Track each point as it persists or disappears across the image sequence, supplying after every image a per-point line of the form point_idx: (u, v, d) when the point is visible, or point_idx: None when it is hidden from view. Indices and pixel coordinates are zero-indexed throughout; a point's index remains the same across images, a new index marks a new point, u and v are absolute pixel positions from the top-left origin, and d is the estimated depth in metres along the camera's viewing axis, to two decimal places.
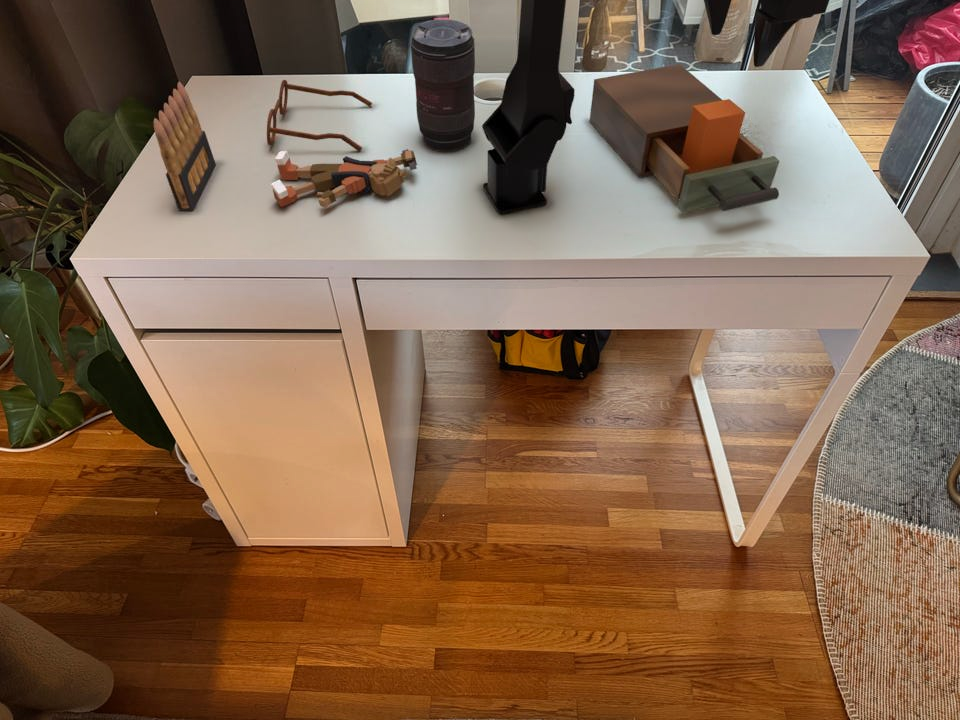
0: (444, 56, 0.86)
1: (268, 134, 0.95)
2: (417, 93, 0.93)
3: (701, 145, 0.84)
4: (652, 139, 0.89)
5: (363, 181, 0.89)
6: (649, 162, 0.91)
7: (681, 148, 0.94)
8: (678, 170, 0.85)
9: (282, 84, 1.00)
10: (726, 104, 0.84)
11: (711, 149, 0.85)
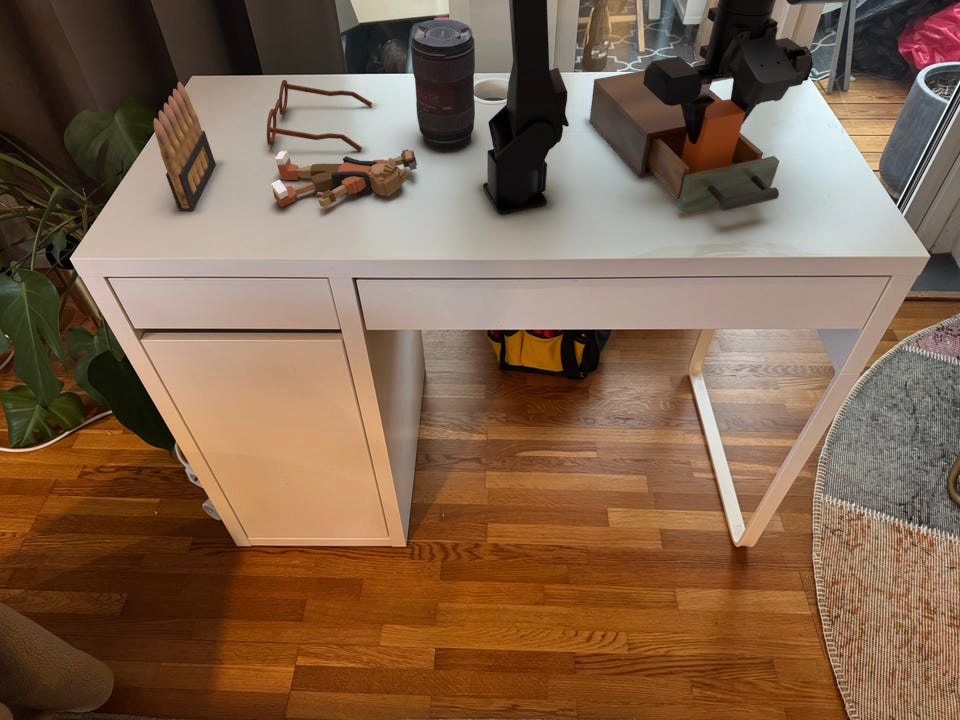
0: (444, 56, 0.86)
1: (268, 134, 0.95)
2: (417, 93, 0.93)
3: (701, 145, 0.84)
4: (652, 139, 0.89)
5: (363, 181, 0.89)
6: (649, 162, 0.91)
7: (681, 148, 0.94)
8: (678, 170, 0.85)
9: (282, 84, 1.00)
10: (726, 104, 0.84)
11: (711, 149, 0.85)
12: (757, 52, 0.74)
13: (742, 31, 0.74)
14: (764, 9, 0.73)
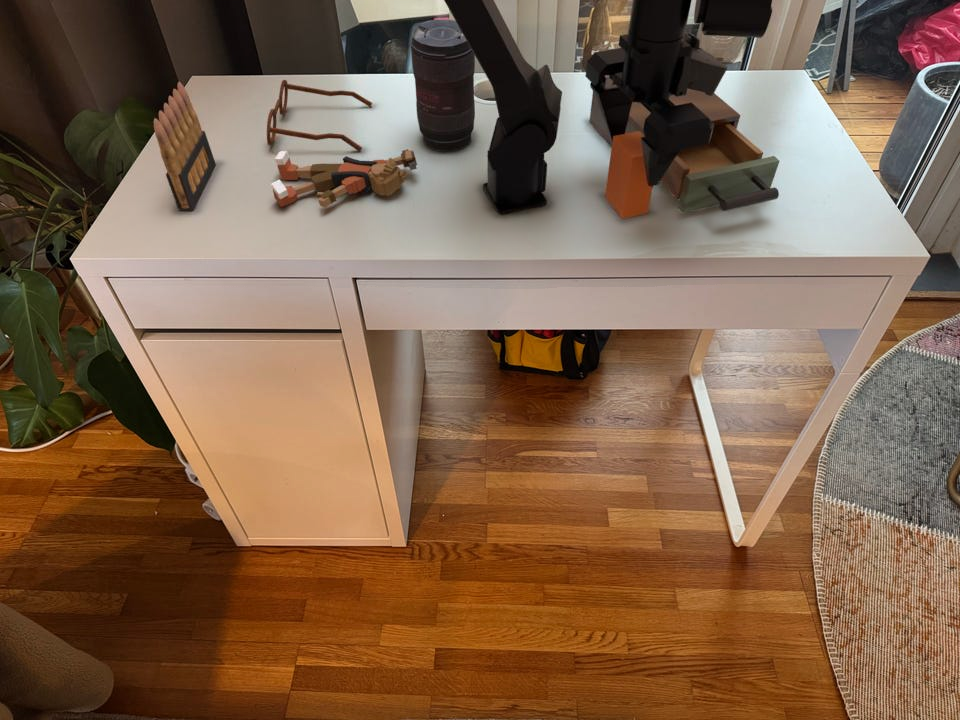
0: (444, 56, 0.86)
1: (268, 134, 0.95)
2: (417, 93, 0.93)
3: None
4: None
5: (363, 181, 0.89)
6: None
7: None
8: (678, 170, 0.85)
9: (282, 84, 1.00)
10: (625, 139, 0.83)
11: None
12: (693, 55, 0.75)
13: None
14: (667, 36, 0.70)
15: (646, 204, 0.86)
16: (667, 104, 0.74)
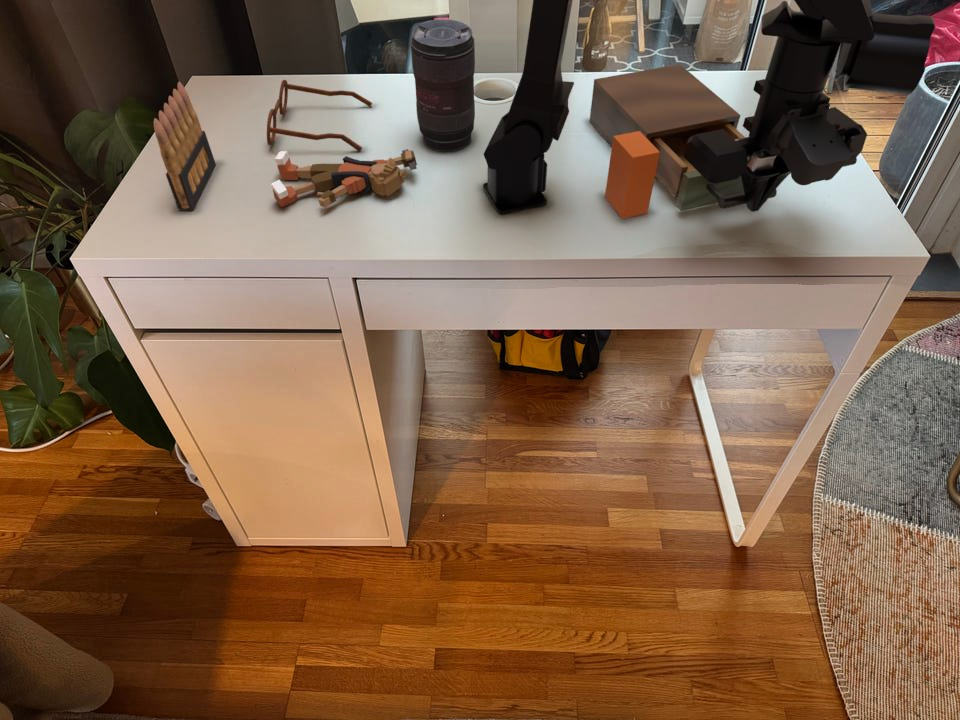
0: (444, 56, 0.86)
1: (268, 134, 0.95)
2: (417, 93, 0.93)
3: (653, 177, 0.83)
4: None
5: (363, 181, 0.89)
6: None
7: (679, 146, 0.94)
8: (676, 168, 0.85)
9: (282, 84, 1.00)
10: (625, 138, 0.83)
11: None
12: (808, 130, 0.70)
13: (793, 108, 0.69)
14: (807, 87, 0.68)
15: (646, 204, 0.86)
16: (745, 143, 0.74)
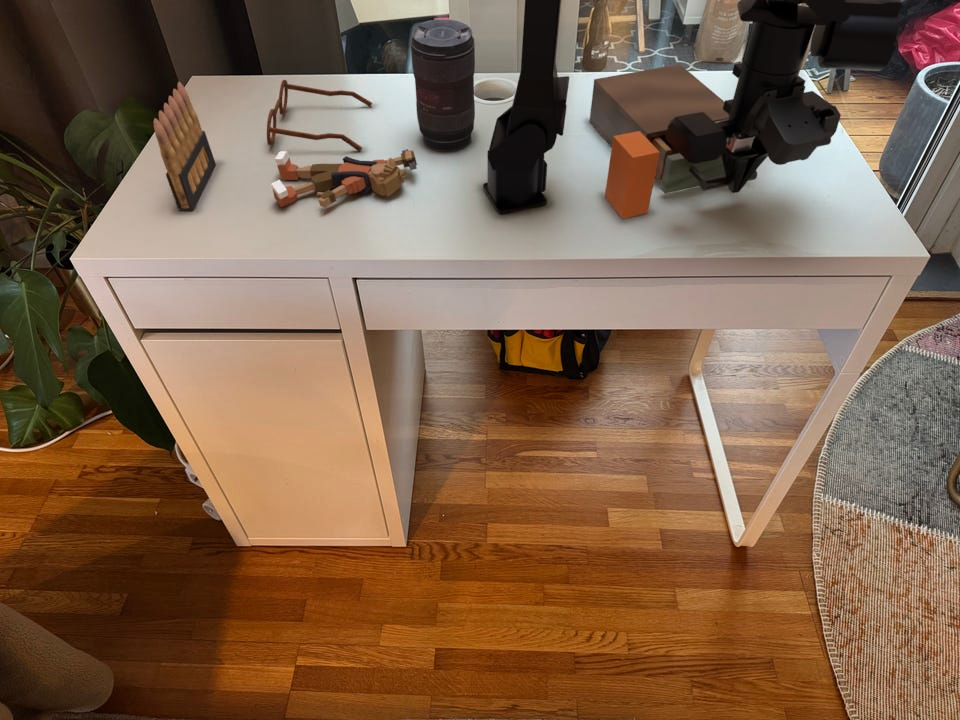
0: (444, 56, 0.86)
1: (268, 134, 0.95)
2: (417, 93, 0.93)
3: (653, 177, 0.83)
4: None
5: (363, 181, 0.89)
6: None
7: None
8: (660, 151, 0.88)
9: (282, 84, 1.00)
10: (625, 138, 0.83)
11: None
12: (784, 111, 0.72)
13: (769, 90, 0.72)
14: (786, 69, 0.71)
15: (646, 204, 0.86)
16: (725, 124, 0.77)
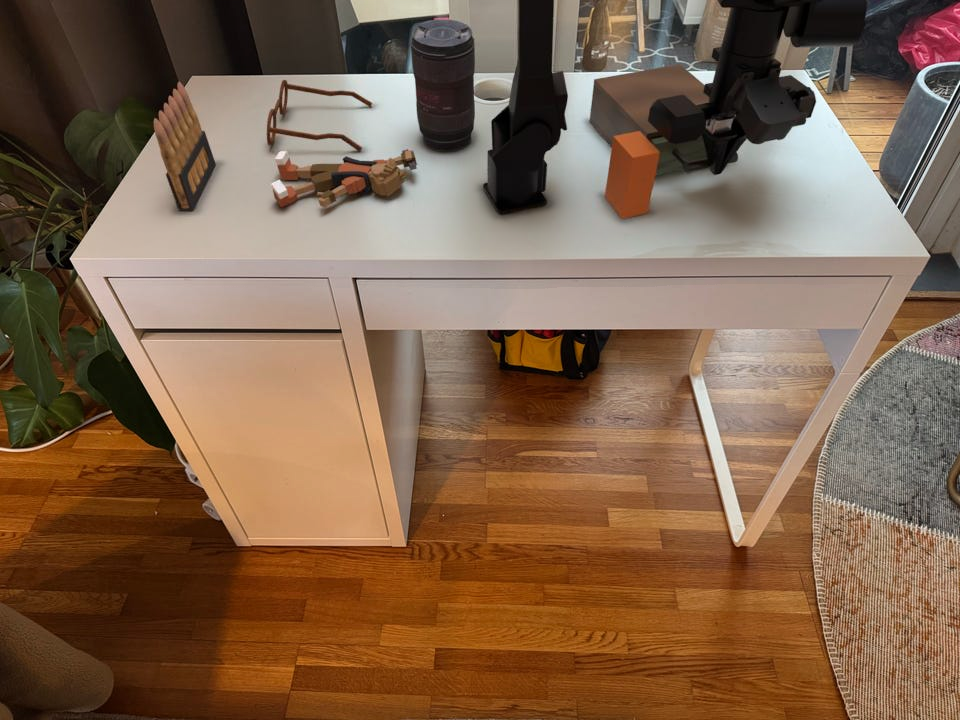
0: (444, 56, 0.86)
1: (268, 134, 0.95)
2: (417, 93, 0.93)
3: (653, 177, 0.83)
4: None
5: (363, 181, 0.89)
6: None
7: None
8: None
9: (282, 84, 1.00)
10: (625, 138, 0.83)
11: None
12: (761, 92, 0.75)
13: (746, 72, 0.74)
14: (766, 51, 0.74)
15: (646, 204, 0.86)
16: (704, 106, 0.79)
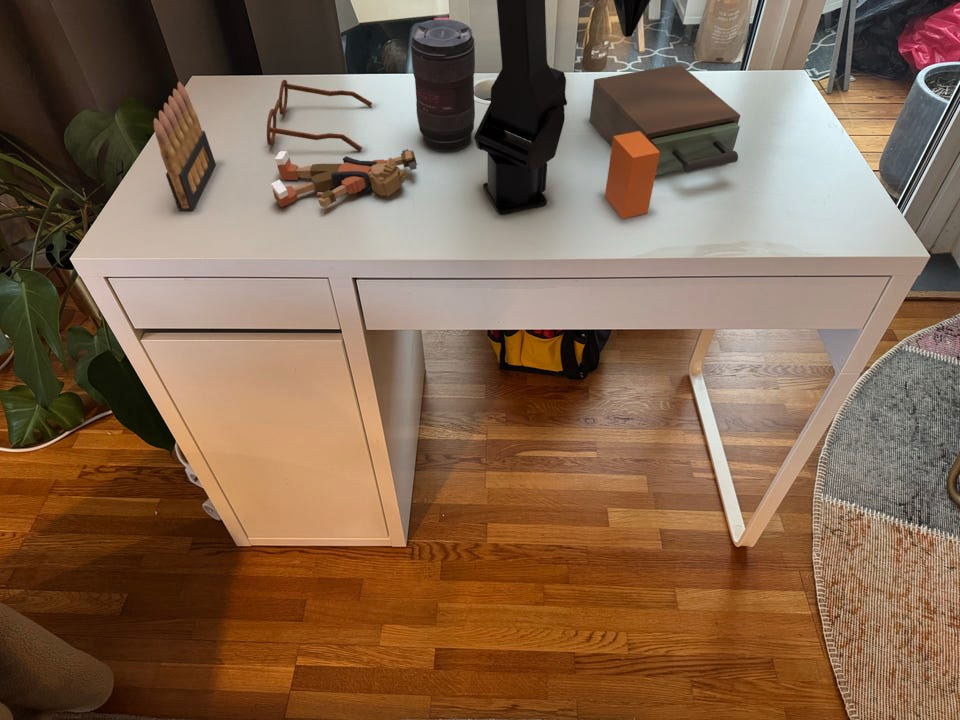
0: (444, 56, 0.86)
1: (268, 134, 0.95)
2: (417, 93, 0.93)
3: (653, 177, 0.83)
4: None
5: (363, 181, 0.89)
6: None
7: None
8: None
9: (282, 84, 1.00)
10: (625, 139, 0.83)
11: None
12: None
13: None
14: None
15: (646, 204, 0.86)
16: None
